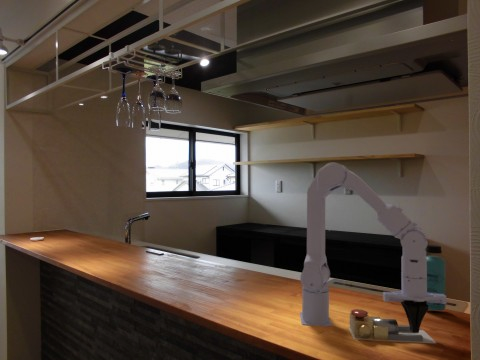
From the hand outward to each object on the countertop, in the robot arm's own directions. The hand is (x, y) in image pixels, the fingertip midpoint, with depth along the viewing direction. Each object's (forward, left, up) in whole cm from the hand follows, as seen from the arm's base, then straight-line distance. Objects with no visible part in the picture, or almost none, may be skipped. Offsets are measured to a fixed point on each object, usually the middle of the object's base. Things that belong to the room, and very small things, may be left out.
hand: (414, 331), depth 91 cm
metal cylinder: (0, -8, -1) cm, 8 cm away
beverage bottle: (-20, +13, -2) cm, 24 cm away
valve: (0, -11, -1) cm, 11 cm away
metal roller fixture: (0, -6, -2) cm, 6 cm away
